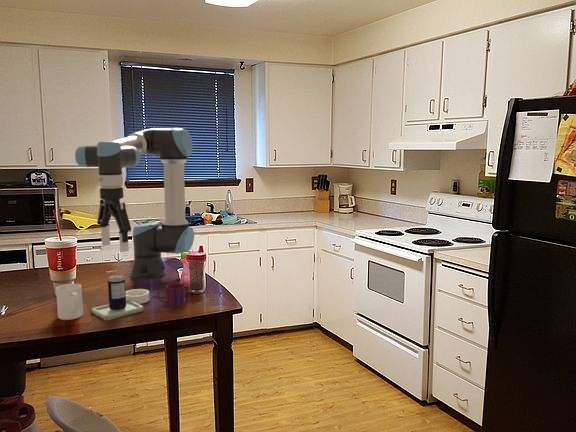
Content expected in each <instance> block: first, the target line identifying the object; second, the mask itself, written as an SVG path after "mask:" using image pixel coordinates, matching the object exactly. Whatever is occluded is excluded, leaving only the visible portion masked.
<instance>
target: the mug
mask: <svg viewBox="0 0 576 432" xmlns="http://www.w3.org/2000/svg"><path fill="white" fill-rule="evenodd" d="M55 292H56V295H55V296H56V306H57V317H58V319H59V320H62V321H69V320H75V319H79V318H81V317H82V316H83V315H84V310H83V308H84V307H83V292H82V284H79V283H64V284H60V285H58V286H56V288H55Z"/></svg>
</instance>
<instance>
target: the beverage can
mask: <svg viewBox="0 0 576 432" xmlns="http://www.w3.org/2000/svg"><path fill="white" fill-rule="evenodd" d="M107 287H108V288H107V289H108V291H107V292H108V304H109V308H110V309H111V310H112V311H122V310H124V308H125V307H126V291H127V290H126V279H125V276H124V275H123V274H113V275H110V276H108V280H107Z"/></svg>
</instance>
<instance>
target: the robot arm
mask: <svg viewBox="0 0 576 432" xmlns="http://www.w3.org/2000/svg"><path fill="white" fill-rule="evenodd" d="M192 153H193V140H192V137H191V134H190V132H189V131H188V130H187V129H186V128H179V127H166V128H165V127H164V128H163V127H160V128H159V127H157V128H156V127H153V128H147V129H143V130H139V131H135V132H133V133H130V134H128V135H127V136H126V137H122V138H119V139H115V140H110V141H109V140H107V141H105V140H104V141H98V142H97V144H94V145H81V146H78V147H77V148H76V150H75V152H74V156H75V157H74V158H75V162H76V164H77V165H78V166H79V167H83V168H98V178H97V180H98V183H99V187H100V188H99V197H100V199H99V211H98V215H97V220H96V221H97V225H99V227H100V232H101V233H100V234H101V235H100V236H101V246H102V247H104V246H110V245H111V237H110V235H111V234H110V224H109V222H110V220H111V217H114V220H115V222H116V225H117V226H118V227H117V228H118V229H119V230H118V234H119V235H118V237H119V238H118V239H119V252H120V253H124V252H129V248H130V247H129V232H130V231H132V239H133V240H132V241H133V261H132V265H131V268H130V277H132V278H134V279H139V280H141V279H142V280H143V279H145V280H146V279H156V278H159V277H162V276H165V275H166V274H167V271H166V270H167V269H166V266H165V263H164V261H163V258H162V253H165V254H176V255H178V254H184V253H183V252H186V251H188V252H190V250H191V249H192V247H193V244H194V241H195V231H194V228H193V227H191V226H190V222H189V221H188V220H187V219H186V190H185V189H186V188H185V185H186V183H185V163H186V162H187V161H188V158H189V156H191V155H192ZM141 156H159V161H160V162H161V163H162V164H163V184H164V185H163V186H164V187H163V189H164V220H163V221H162V222H161V223H160V222H158V221H154V222H153V221H151V222H146V223H140V224H136V225H135V226H134V227H133V229H132V227H131V223H130V219H129V215H128V212H127V209H126V203H125V202H120V201H121V199H123V198H124V188H123V185H124V183H123V182H124V181H123V180H124V179H123V169H124V168H125V169H126V168H133V167H136V166H137V165H138V164H139V163H140V162H141V160H142V159H141V158H142V157H141Z"/></svg>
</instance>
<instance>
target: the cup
mask: <svg viewBox="0 0 576 432" xmlns="http://www.w3.org/2000/svg"><path fill="white" fill-rule="evenodd" d="M185 287H186V286H185V284H184V283H177V282H176V283H169V284H166V287H165V288H161V289H158V291H157V299H158V300H159V302H161V303H164V304H166V305H167V306H168V307H181V306H183V305H185V304H186V289H185ZM161 291H164V292H165V294H166V297H165V298H166V300H162V299H161V298H160V293H161Z"/></svg>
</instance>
